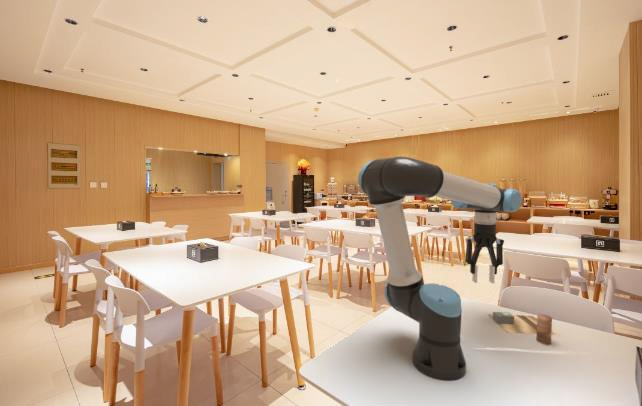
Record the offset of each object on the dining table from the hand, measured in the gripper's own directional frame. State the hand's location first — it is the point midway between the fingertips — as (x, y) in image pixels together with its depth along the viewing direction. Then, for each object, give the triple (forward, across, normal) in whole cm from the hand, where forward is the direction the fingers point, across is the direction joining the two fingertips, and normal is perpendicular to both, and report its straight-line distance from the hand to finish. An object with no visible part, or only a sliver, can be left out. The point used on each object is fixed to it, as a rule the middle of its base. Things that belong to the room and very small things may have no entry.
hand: (483, 281), depth 119 cm
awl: (+17, +14, -15) cm, 27 cm away
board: (+17, +14, -1) cm, 22 cm away
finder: (+16, +8, 0) cm, 18 cm away
